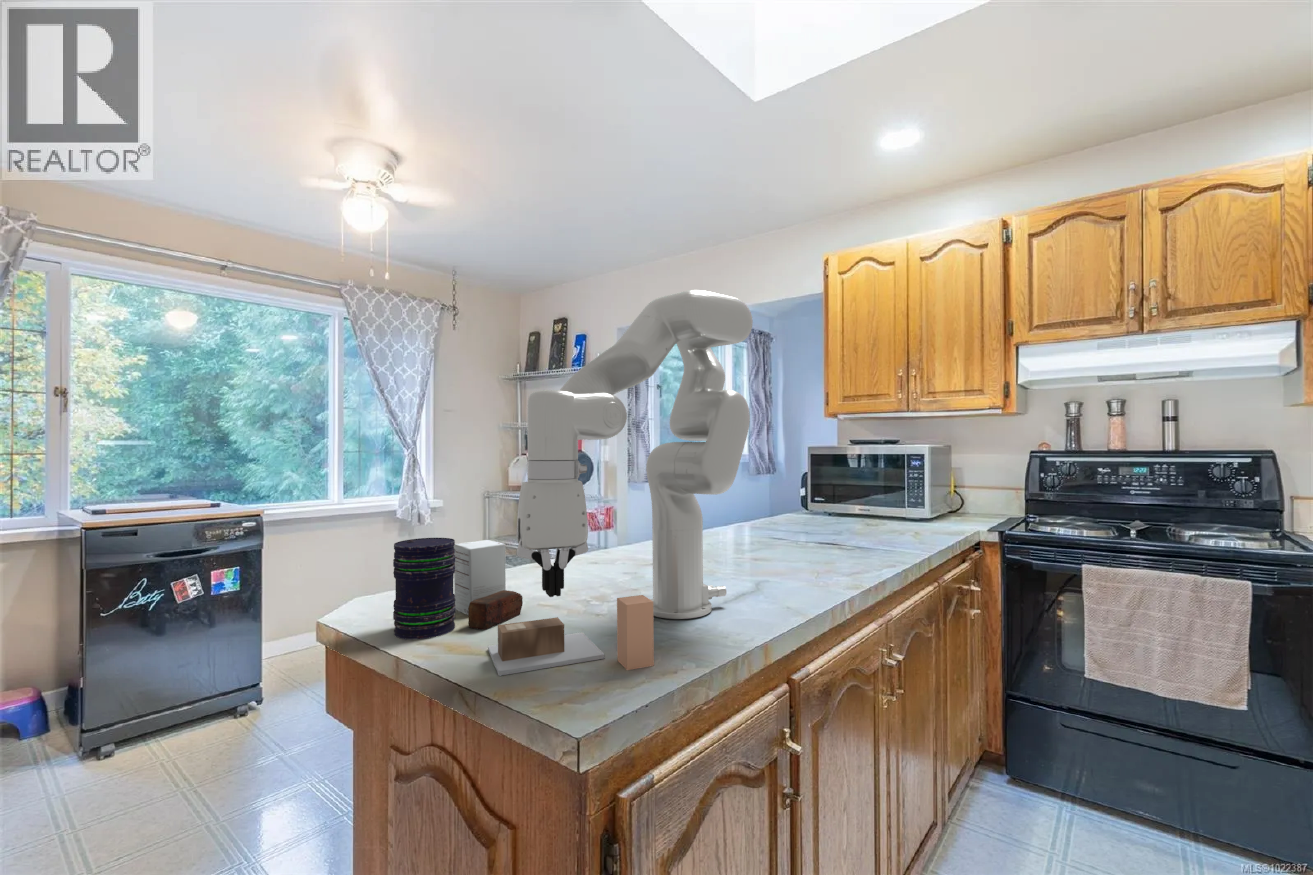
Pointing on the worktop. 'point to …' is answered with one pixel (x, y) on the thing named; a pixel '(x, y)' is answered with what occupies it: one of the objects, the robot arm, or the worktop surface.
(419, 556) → the dark blue ribbed cylinder
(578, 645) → the mat
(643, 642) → the terracotta block
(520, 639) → the brown cardboard box
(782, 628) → the worktop surface
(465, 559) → the supplement box
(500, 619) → the brick
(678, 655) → the worktop surface
